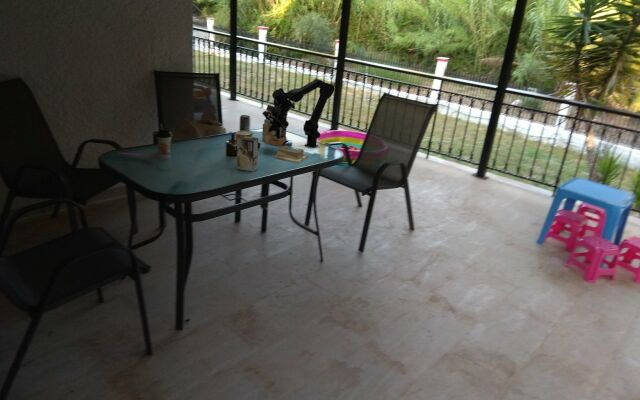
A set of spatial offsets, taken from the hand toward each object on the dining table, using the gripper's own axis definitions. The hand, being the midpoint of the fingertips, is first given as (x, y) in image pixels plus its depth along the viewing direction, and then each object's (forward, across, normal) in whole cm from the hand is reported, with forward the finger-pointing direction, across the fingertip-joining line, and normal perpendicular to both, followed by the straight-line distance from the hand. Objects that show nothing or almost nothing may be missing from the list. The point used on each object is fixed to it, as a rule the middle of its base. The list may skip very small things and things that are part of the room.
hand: (266, 130), depth 250 cm
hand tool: (+9, -19, +10) cm, 23 cm away
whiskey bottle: (-3, -15, +22) cm, 27 cm away
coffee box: (+25, +17, -6) cm, 31 cm away
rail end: (+4, 0, +6) cm, 7 cm away
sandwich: (+3, +12, +16) cm, 20 cm away
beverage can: (+18, -4, +1) cm, 18 cm away
